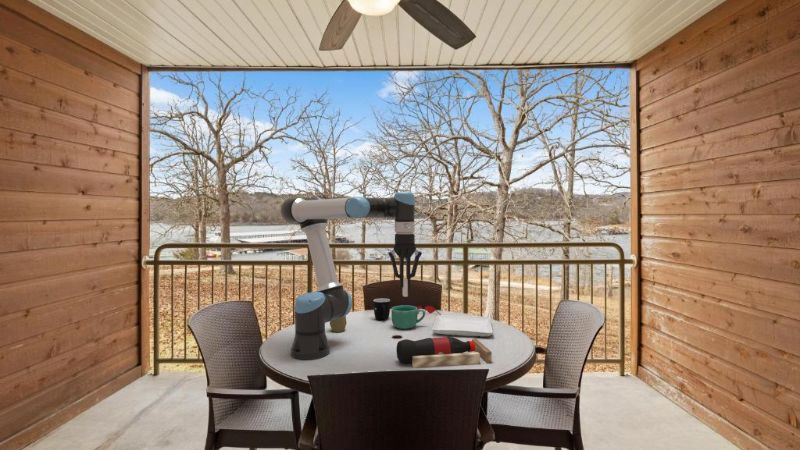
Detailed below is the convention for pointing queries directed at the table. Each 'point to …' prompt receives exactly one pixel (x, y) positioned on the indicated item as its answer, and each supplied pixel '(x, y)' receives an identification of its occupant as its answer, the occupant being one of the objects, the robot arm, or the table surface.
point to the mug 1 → (381, 309)
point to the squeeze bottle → (338, 324)
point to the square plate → (463, 325)
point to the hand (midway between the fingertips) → (405, 295)
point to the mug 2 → (405, 316)
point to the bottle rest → (454, 357)
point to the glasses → (428, 309)
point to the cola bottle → (431, 347)
